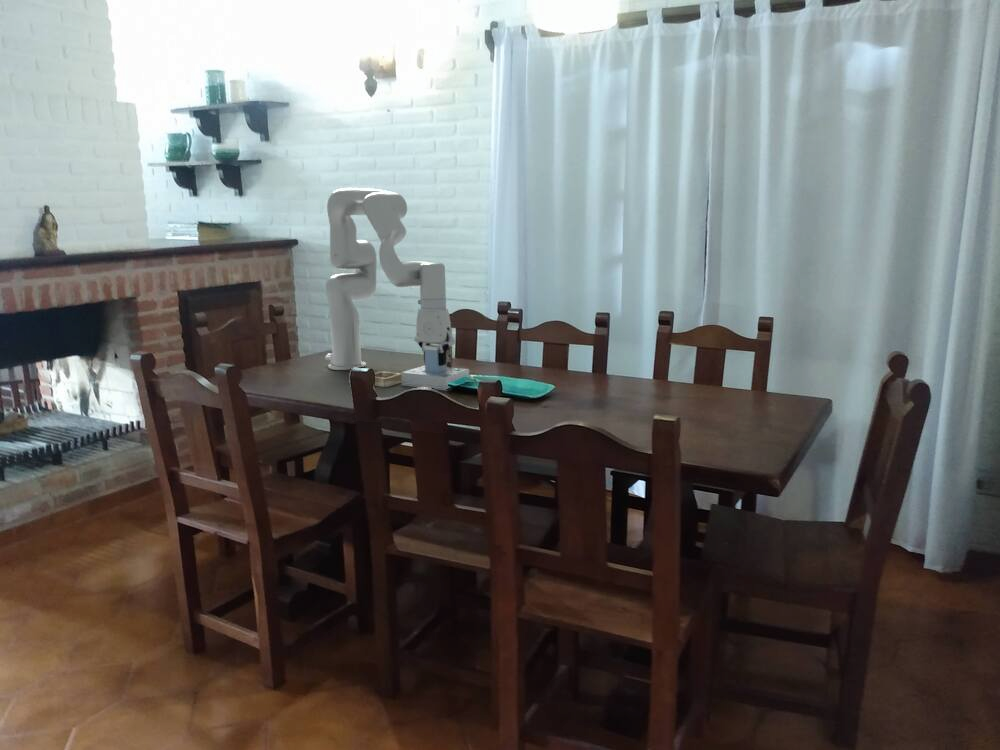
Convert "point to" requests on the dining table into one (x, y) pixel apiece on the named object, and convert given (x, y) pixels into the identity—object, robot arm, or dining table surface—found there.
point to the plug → (433, 359)
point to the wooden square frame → (387, 378)
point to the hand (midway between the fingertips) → (435, 363)
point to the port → (432, 377)
